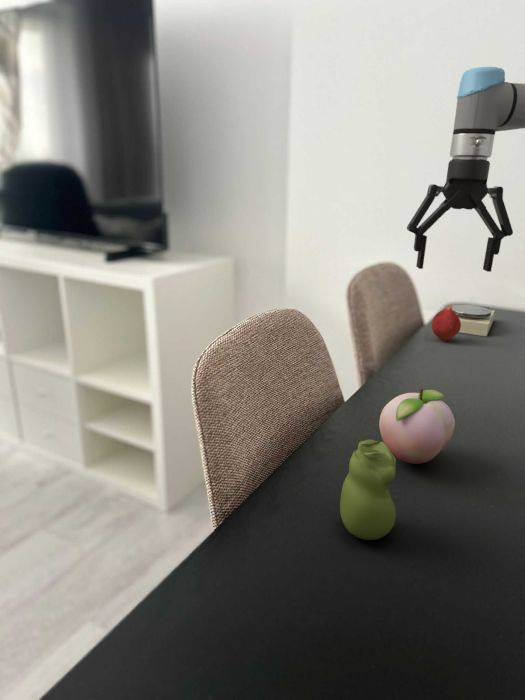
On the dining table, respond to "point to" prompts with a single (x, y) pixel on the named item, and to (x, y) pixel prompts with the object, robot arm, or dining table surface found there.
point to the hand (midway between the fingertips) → (453, 269)
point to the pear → (369, 491)
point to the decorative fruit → (416, 426)
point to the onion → (446, 324)
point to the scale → (476, 324)
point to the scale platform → (471, 311)
